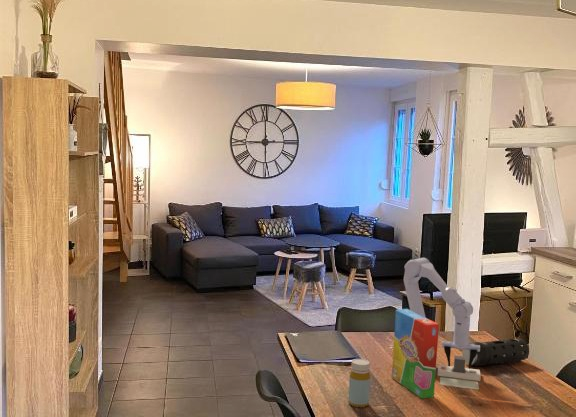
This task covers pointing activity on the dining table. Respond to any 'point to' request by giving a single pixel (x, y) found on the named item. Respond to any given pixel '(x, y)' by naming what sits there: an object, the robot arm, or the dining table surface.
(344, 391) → the dining table surface
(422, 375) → the game box
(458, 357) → the block
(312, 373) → the dining table surface
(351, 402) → the bottle
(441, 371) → the socket strip
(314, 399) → the dining table surface
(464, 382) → the sage mat
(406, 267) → the robot arm
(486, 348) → the muzzle brake
